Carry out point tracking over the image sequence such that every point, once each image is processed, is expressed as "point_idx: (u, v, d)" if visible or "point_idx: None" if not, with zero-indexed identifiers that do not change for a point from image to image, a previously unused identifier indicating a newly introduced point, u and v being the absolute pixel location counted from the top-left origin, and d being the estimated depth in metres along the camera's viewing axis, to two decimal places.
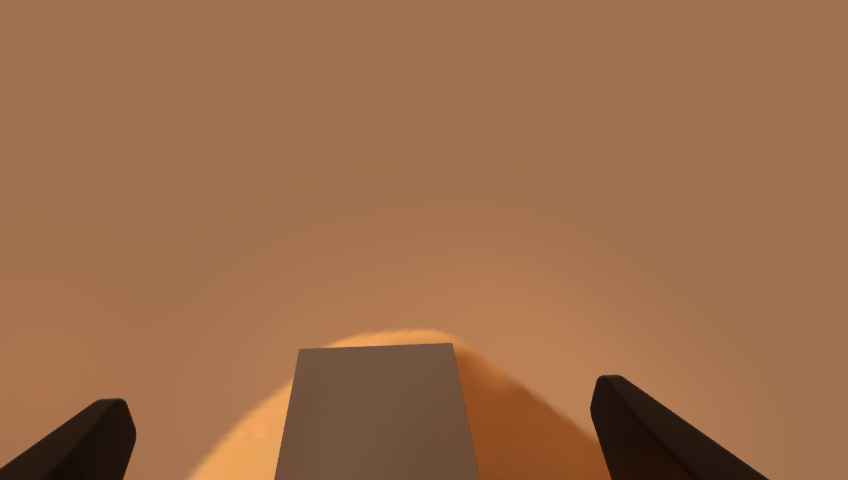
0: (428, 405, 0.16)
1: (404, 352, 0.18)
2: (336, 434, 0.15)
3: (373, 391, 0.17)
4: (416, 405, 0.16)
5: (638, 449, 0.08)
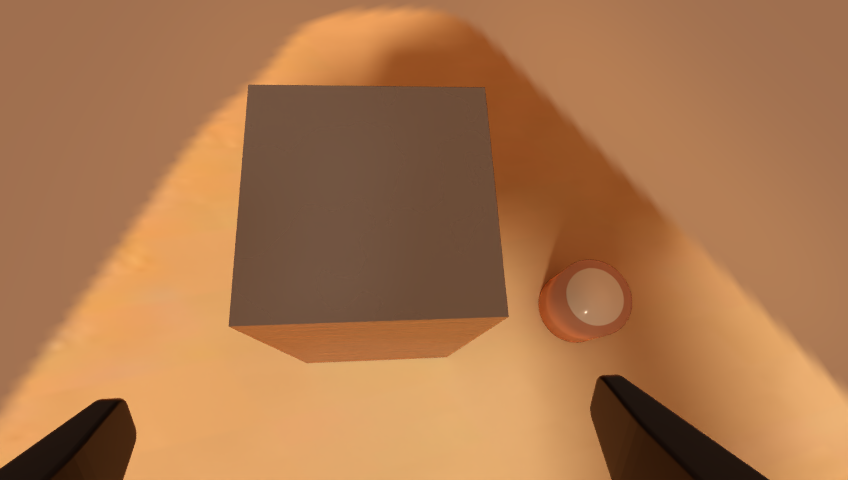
0: (444, 193, 0.11)
1: (412, 100, 0.12)
2: (313, 233, 0.11)
3: (365, 167, 0.11)
4: (427, 192, 0.11)
5: (638, 449, 0.08)
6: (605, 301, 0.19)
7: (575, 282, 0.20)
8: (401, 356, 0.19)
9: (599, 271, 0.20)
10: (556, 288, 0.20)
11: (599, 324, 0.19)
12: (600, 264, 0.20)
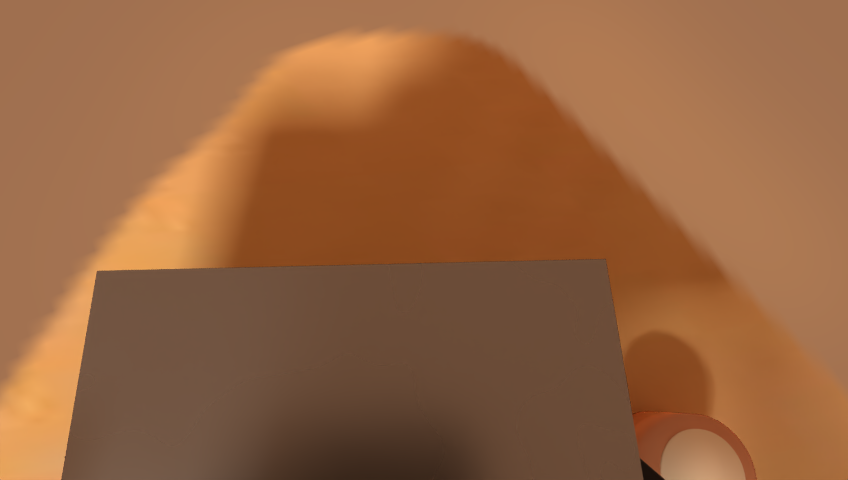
0: None
1: (456, 297, 0.06)
2: None
3: (352, 479, 0.05)
4: None
5: None
6: None
7: (673, 452, 0.13)
8: None
9: (707, 433, 0.13)
10: (644, 460, 0.13)
11: None
12: (707, 421, 0.14)
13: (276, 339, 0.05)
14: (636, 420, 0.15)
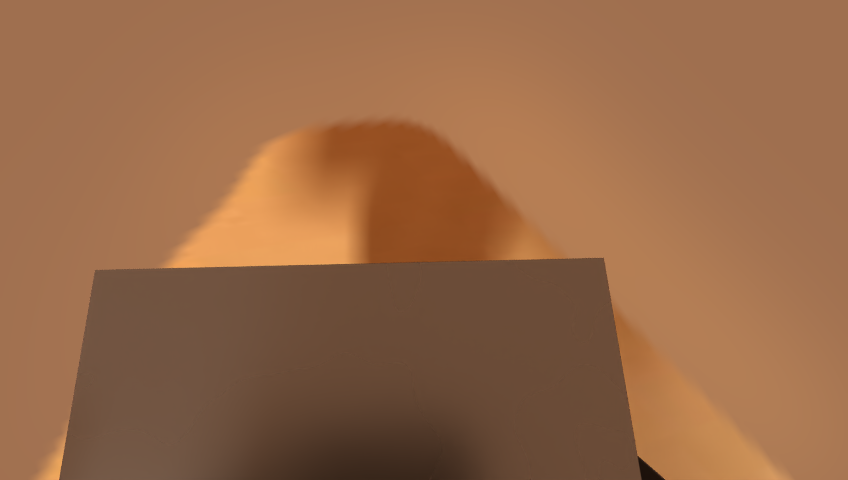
0: None
1: (454, 296, 0.06)
2: None
3: (351, 477, 0.05)
4: None
5: None
6: None
7: None
8: None
9: None
10: None
11: None
12: None
13: (274, 338, 0.05)
14: None
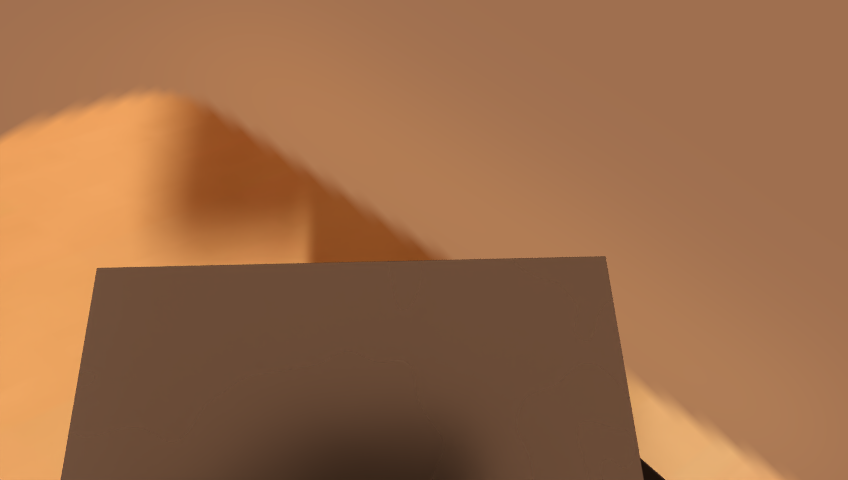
0: None
1: (455, 294, 0.06)
2: None
3: (352, 476, 0.05)
4: None
5: None
6: None
7: None
8: None
9: None
10: None
11: None
12: None
13: (276, 336, 0.05)
14: None
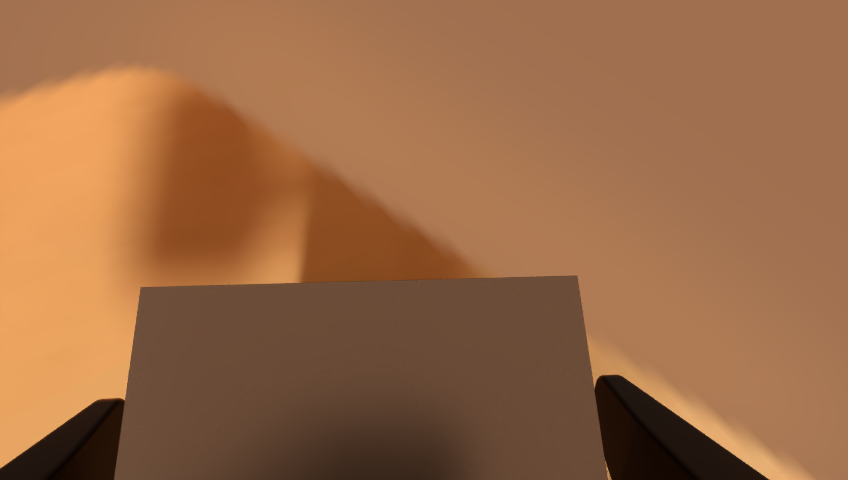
0: None
1: (447, 308, 0.07)
2: None
3: (360, 463, 0.06)
4: None
5: (638, 449, 0.08)
6: None
7: None
8: None
9: None
10: None
11: None
12: None
13: (294, 345, 0.06)
14: None
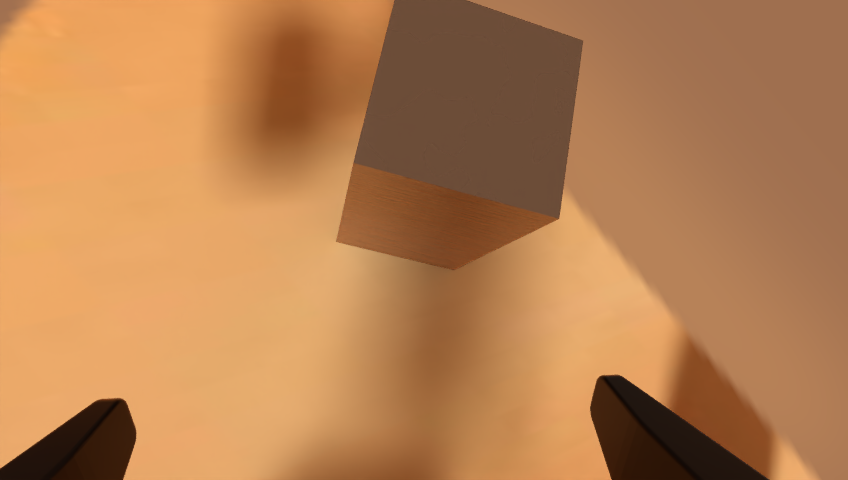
0: (533, 113, 0.14)
1: (525, 32, 0.15)
2: (429, 113, 0.13)
3: (478, 74, 0.14)
4: (521, 109, 0.14)
5: (638, 449, 0.08)
6: None
7: None
8: (420, 256, 0.22)
9: None
10: None
11: None
12: None
13: (459, 23, 0.14)
14: None
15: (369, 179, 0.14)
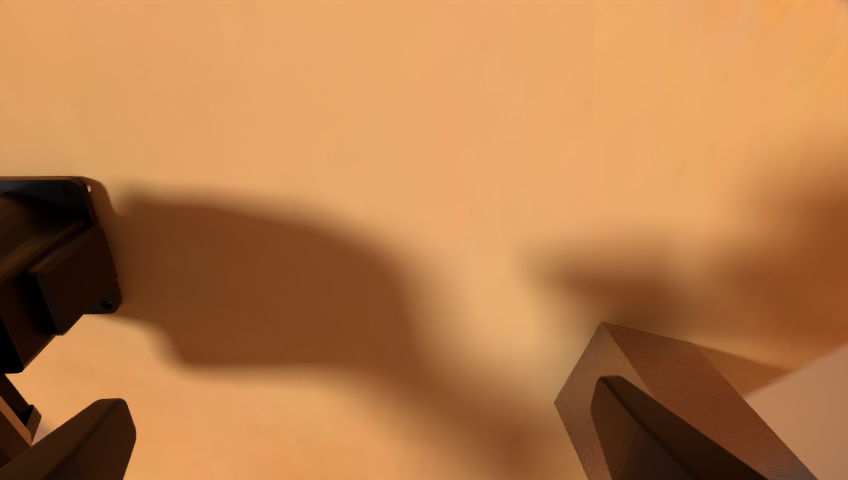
0: None
1: None
2: None
3: None
4: None
5: (638, 449, 0.08)
6: None
7: None
8: (577, 393, 0.26)
9: None
10: None
11: None
12: None
13: None
14: None
15: None
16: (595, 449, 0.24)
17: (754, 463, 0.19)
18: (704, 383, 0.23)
